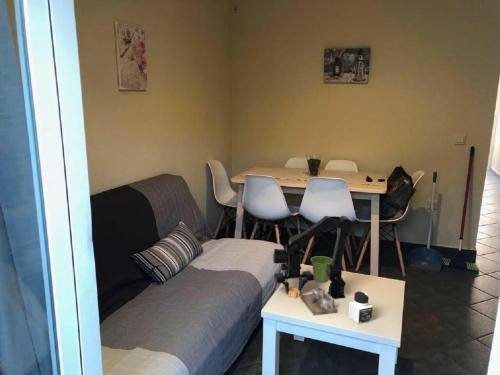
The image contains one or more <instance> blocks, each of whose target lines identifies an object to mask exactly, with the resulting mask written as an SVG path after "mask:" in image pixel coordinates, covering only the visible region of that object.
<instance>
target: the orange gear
mask: <svg viewBox="0 0 500 375" xmlns="http://www.w3.org/2000/svg"><path fill="white" fill-rule="evenodd" d="M300 294H301V292H300V290H298V287H291V286H289V293H288V294H287V293H286V296H288V298H289V299H295V300H296V299H297V298H299V297H300Z"/></svg>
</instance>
